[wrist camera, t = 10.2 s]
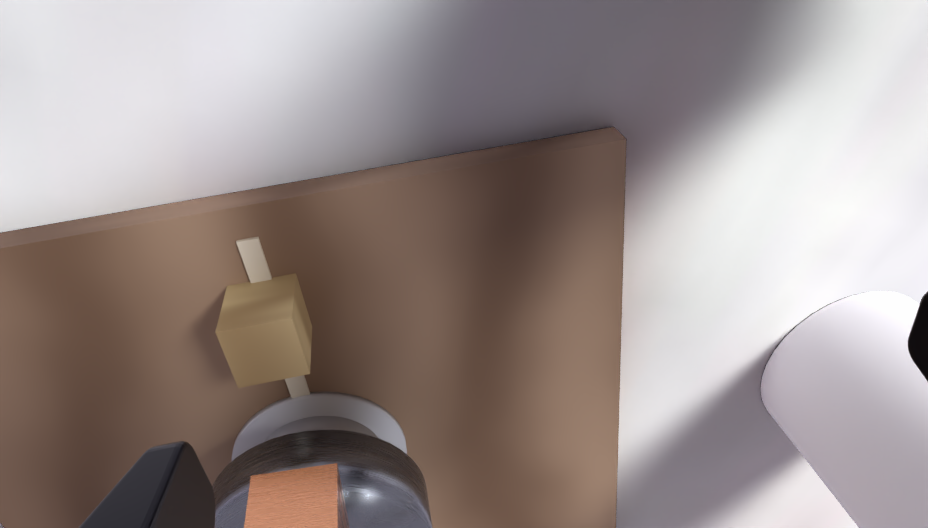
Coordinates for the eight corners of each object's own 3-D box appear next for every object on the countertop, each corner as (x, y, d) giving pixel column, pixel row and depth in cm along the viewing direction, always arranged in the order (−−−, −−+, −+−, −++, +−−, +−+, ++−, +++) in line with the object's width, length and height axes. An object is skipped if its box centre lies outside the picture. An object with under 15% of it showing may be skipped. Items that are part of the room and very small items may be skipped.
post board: (613, 126, 19) (658, 169, 17) (607, 534, 30) (633, 599, 28) (-170, 262, 18) (-260, 334, 15) (123, 643, 28) (102, 724, 26)
